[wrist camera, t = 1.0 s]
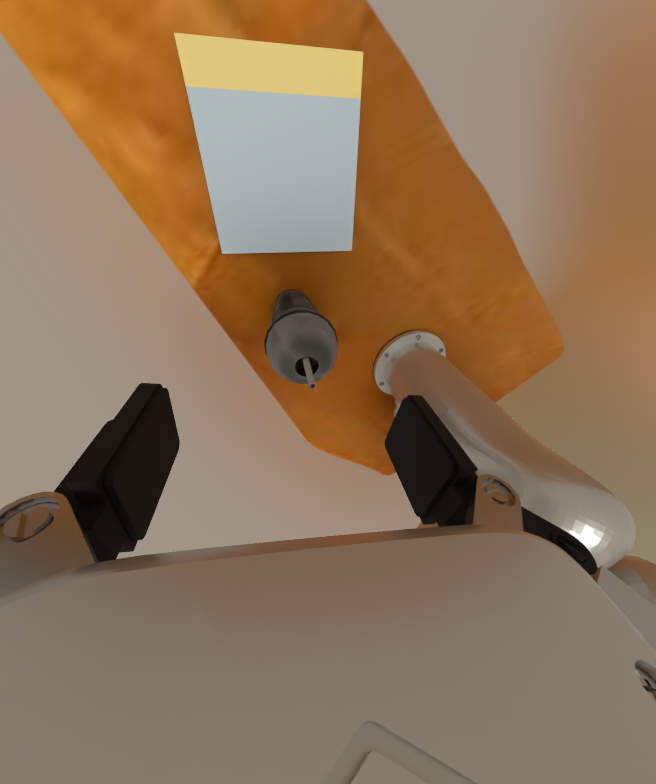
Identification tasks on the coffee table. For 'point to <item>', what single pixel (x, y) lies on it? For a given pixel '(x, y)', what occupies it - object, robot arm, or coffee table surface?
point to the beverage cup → (300, 340)
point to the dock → (276, 140)
